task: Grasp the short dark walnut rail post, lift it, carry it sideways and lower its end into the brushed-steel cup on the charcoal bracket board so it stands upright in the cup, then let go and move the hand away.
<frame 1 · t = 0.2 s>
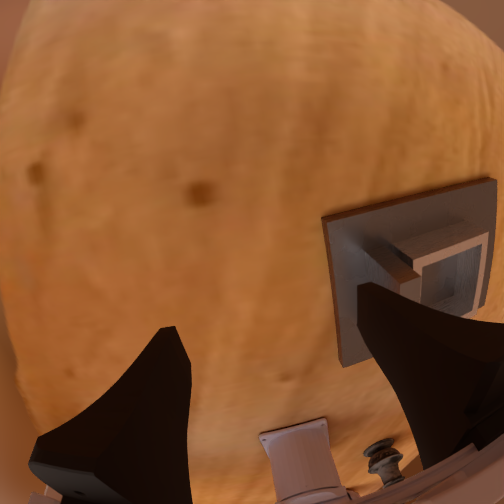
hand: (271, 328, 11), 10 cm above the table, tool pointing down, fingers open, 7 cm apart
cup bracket: (423, 269, 23), on the table
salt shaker: (378, 446, 36), on the table
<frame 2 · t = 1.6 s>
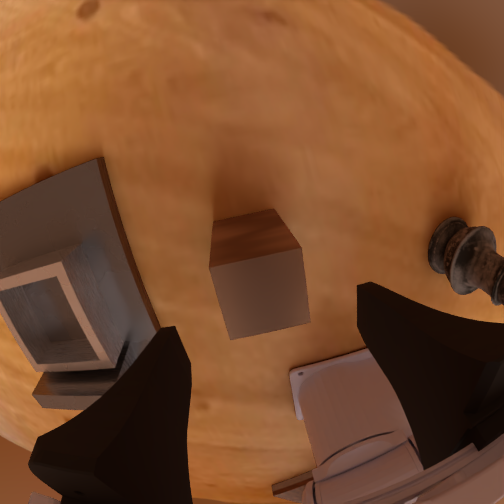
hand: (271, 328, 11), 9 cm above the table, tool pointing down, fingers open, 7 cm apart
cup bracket: (66, 297, 20), on the table
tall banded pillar: (318, 479, 36), on the table
rail post: (249, 243, 20), on the table
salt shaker: (448, 245, 22), on the table
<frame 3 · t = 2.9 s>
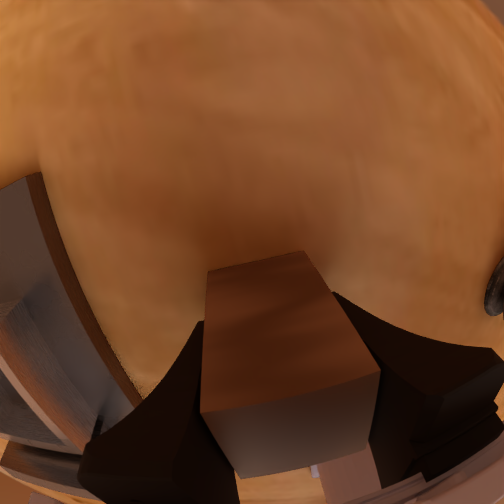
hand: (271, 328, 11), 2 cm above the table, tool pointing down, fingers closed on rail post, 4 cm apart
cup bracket: (23, 355, 13), on the table
rail post: (264, 302, 13), on the table, touching gripper
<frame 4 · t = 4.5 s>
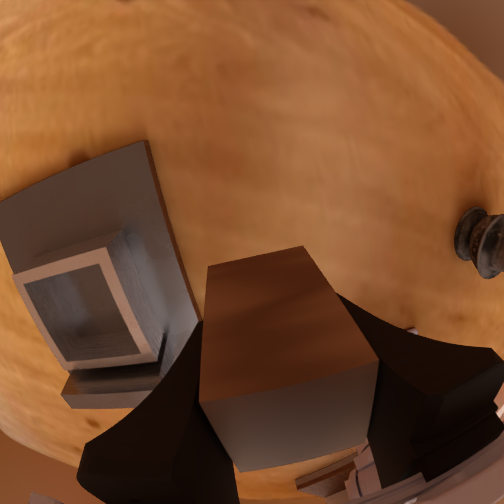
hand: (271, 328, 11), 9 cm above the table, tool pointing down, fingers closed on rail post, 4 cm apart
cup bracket: (99, 289, 20), on the table
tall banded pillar: (340, 471, 36), on the table
rail post: (264, 296, 13), point 7 cm above the table, touching gripper
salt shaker: (471, 233, 22), on the table
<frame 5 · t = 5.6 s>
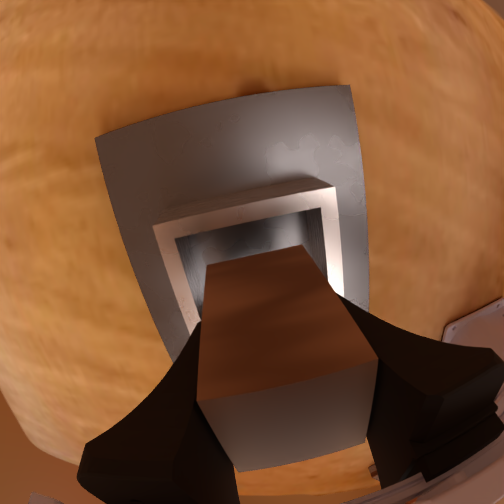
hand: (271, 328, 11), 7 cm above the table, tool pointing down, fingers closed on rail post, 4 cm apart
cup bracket: (252, 254, 18), on the table
rail post: (263, 295, 13), point 5 cm above the table, touching gripper
when the fingers open (5 cm above the table, at t = 6.4 s): rail post drops 2 cm, resting on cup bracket.
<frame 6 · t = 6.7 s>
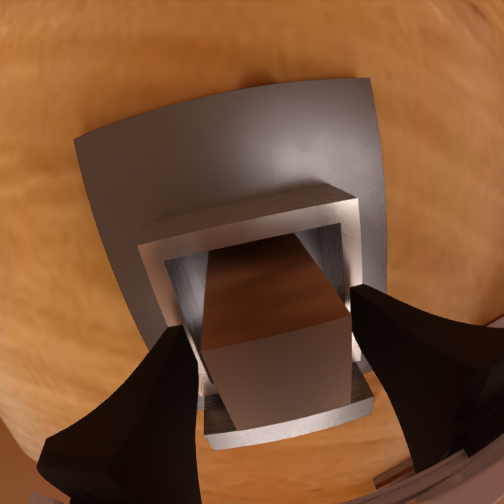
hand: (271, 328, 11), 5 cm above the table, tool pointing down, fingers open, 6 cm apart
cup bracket: (256, 271, 16), on the table
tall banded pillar: (412, 465, 32), on the table
rail post: (259, 278, 14), point 1 cm above the table, touching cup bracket
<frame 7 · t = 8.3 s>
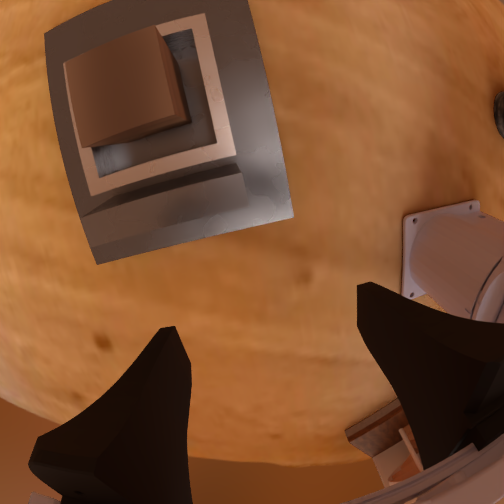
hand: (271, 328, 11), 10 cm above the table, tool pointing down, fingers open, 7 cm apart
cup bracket: (157, 107, 17), on the table
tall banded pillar: (392, 419, 33), on the table
rail post: (153, 102, 15), point 1 cm above the table, touching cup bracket
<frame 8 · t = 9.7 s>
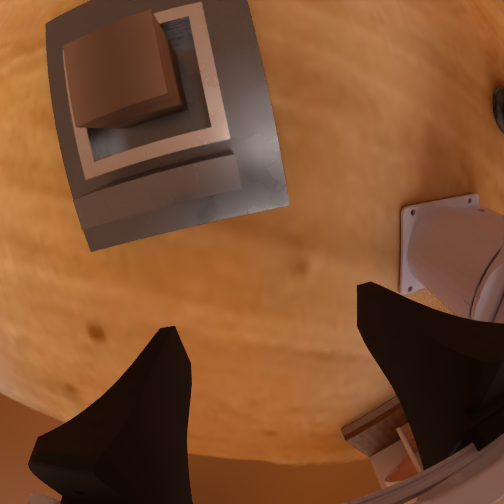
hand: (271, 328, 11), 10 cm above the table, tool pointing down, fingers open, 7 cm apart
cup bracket: (154, 95, 16), on the table
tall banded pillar: (389, 418, 33), on the table
rail post: (150, 89, 15), point 1 cm above the table, touching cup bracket
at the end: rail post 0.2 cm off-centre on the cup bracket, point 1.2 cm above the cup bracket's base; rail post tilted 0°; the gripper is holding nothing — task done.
